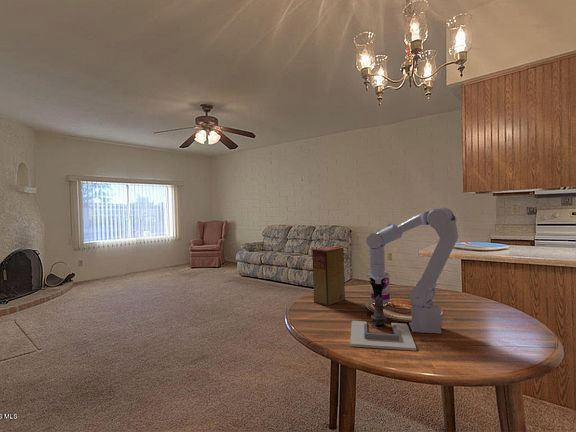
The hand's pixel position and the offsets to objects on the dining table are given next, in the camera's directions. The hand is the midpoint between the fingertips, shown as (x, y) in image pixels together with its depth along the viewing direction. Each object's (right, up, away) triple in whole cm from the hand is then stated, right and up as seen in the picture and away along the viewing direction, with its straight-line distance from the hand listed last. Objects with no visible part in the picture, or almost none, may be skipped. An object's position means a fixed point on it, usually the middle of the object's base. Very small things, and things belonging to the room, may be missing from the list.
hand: (377, 297), depth 124 cm
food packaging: (-16, -8, +25) cm, 30 cm away
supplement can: (+6, -8, +17) cm, 20 cm away
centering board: (-3, -9, -15) cm, 18 cm away
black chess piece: (-2, -9, -7) cm, 12 cm away
